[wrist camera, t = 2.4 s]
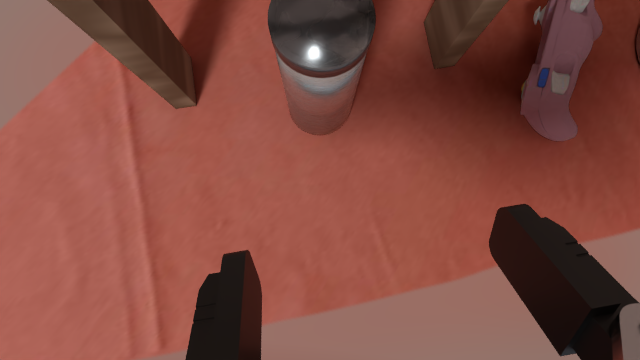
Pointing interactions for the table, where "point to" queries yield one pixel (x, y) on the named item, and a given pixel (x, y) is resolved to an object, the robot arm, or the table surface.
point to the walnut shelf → (175, 63)
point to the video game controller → (558, 65)
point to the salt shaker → (321, 57)
